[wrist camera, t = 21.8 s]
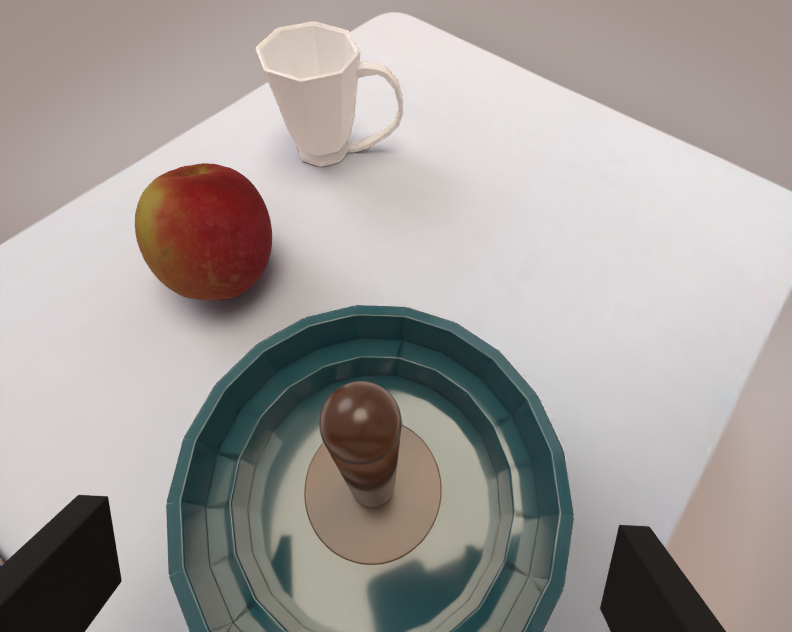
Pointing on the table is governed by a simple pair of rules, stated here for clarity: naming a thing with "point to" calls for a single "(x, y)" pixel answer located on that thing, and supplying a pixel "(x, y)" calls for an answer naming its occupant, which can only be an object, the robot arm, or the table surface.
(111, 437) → the table surface
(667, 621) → the robot arm
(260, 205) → the apple
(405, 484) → the coffee tamper
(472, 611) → the bowl
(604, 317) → the table surface
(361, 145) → the cup
